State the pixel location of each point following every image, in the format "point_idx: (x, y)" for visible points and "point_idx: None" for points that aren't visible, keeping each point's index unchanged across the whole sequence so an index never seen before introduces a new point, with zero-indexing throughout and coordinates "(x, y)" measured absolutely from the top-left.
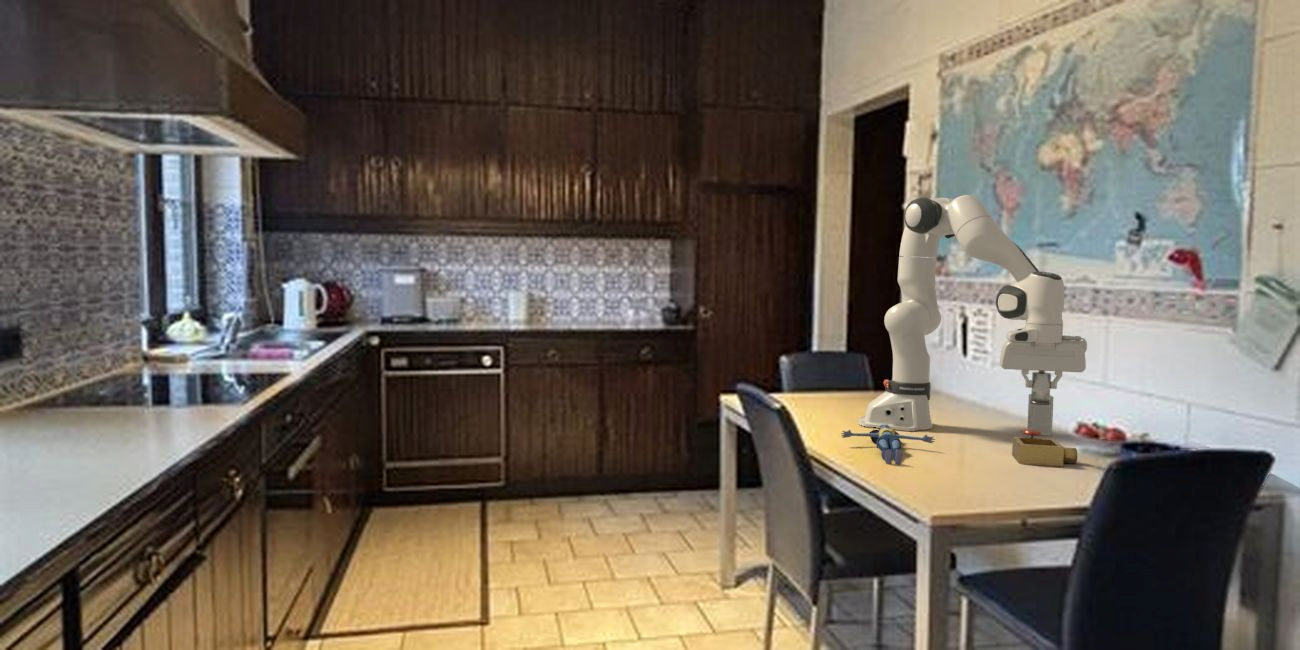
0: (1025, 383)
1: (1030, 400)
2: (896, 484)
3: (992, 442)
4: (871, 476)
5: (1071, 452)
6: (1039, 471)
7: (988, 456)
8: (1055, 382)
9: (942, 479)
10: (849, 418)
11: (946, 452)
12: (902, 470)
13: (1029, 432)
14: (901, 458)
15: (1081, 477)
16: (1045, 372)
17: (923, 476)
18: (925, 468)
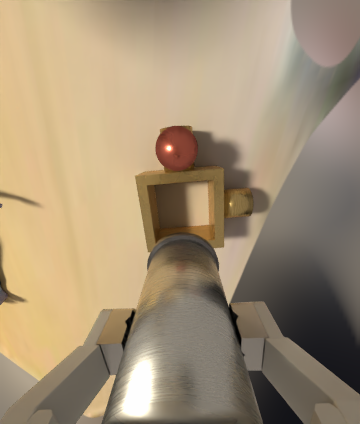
0: (95, 323)
1: (148, 262)
2: (37, 365)
3: (100, 32)
4: (5, 349)
5: (240, 216)
6: None
7: (106, 199)
8: (267, 367)
9: (72, 338)
10: None
11: (38, 195)
12: (22, 319)
13: (168, 168)
14: (1, 303)
15: (228, 281)
16: (231, 412)
17: (51, 334)
18: (42, 302)
